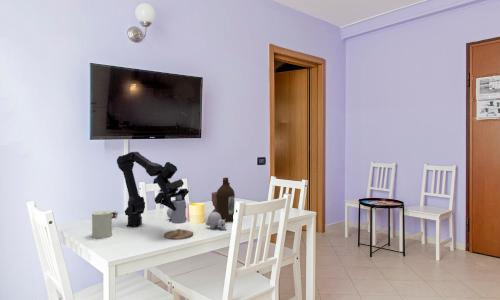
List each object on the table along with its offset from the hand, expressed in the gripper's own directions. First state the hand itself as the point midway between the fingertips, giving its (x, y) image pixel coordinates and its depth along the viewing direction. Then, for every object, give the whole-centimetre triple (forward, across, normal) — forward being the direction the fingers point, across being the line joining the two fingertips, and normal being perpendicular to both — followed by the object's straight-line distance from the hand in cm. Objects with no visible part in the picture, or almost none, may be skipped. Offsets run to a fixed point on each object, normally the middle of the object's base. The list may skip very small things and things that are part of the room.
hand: (180, 209), depth 177 cm
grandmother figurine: (-32, -2, +50) cm, 59 cm away
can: (-12, -22, +32) cm, 41 cm away
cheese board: (+9, 0, +11) cm, 15 cm away
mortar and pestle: (-2, +52, +22) cm, 57 cm away
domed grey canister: (+4, 0, +6) cm, 7 cm away
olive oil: (+8, +38, +11) cm, 40 cm away
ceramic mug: (-8, +23, +28) cm, 37 cm away
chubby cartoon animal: (+14, +21, +5) cm, 26 cm away
